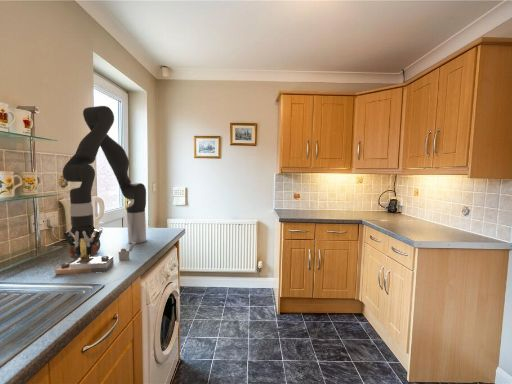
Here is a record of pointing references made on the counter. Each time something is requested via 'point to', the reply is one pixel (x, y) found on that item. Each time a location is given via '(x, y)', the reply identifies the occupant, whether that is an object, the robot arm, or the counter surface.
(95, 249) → the tin
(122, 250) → the lighter
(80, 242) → the pin
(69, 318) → the counter surface
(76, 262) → the door latch
